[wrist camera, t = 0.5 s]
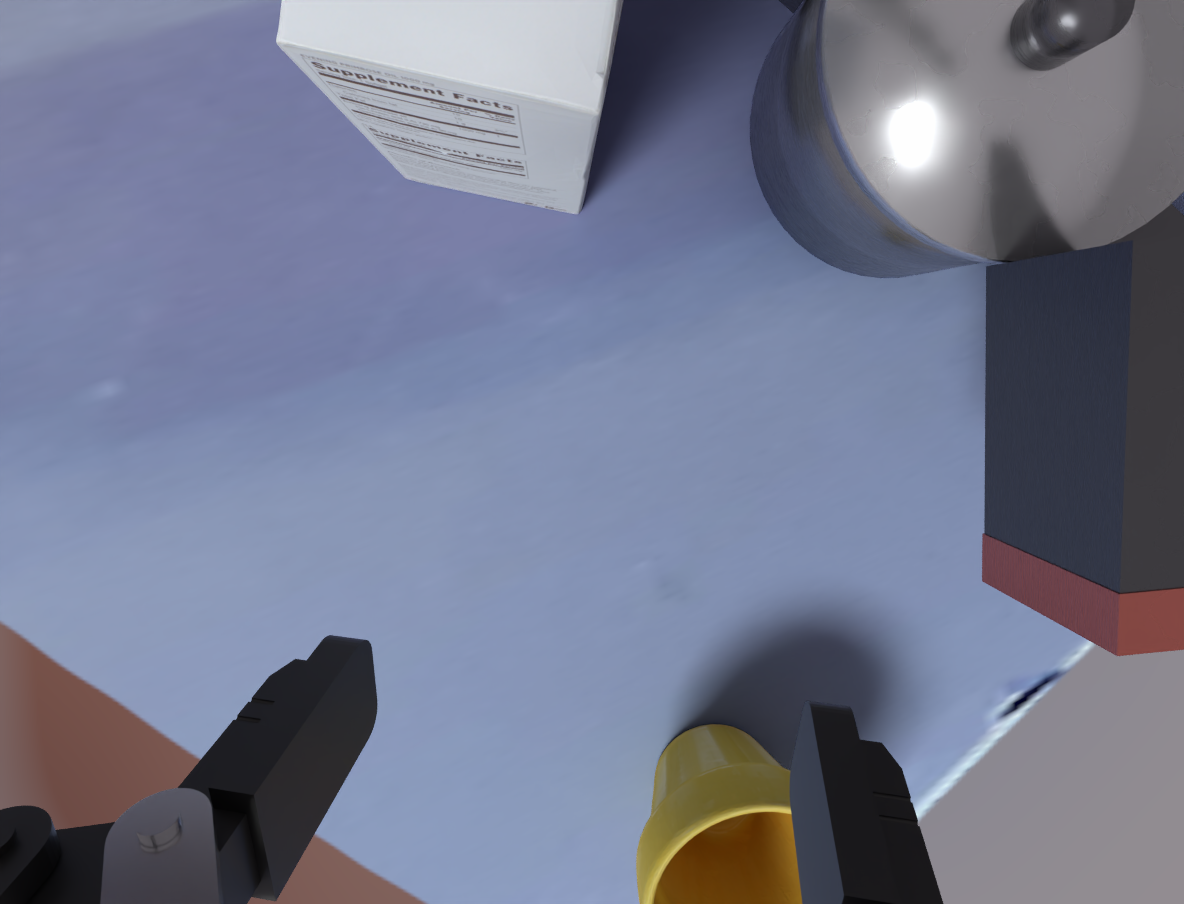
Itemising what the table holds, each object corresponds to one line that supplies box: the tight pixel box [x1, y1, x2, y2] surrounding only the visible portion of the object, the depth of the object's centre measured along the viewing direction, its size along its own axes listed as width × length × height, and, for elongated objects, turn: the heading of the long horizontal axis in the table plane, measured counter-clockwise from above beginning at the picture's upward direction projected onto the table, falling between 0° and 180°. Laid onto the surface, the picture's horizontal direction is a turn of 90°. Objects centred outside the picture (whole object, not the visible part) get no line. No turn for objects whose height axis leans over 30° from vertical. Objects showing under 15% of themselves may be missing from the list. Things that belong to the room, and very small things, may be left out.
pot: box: [750, 0, 1184, 278], centre depth 32 cm, size 27×23×10 cm
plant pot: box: [636, 724, 802, 904], centre depth 37 cm, size 10×10×10 cm
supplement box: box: [276, 0, 623, 214], centre depth 27 cm, size 10×9×17 cm
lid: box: [816, 0, 1184, 656], centre depth 23 cm, size 33×16×7 cm, turn 5°
